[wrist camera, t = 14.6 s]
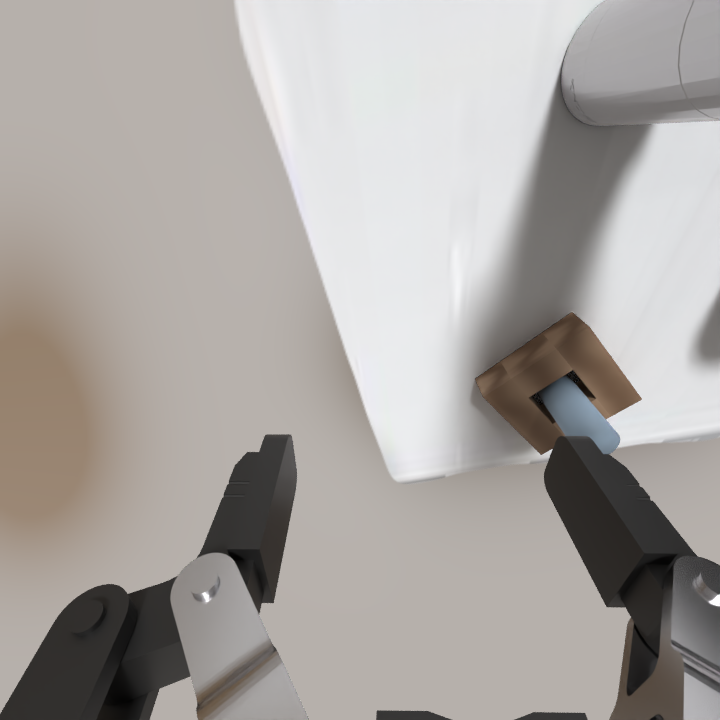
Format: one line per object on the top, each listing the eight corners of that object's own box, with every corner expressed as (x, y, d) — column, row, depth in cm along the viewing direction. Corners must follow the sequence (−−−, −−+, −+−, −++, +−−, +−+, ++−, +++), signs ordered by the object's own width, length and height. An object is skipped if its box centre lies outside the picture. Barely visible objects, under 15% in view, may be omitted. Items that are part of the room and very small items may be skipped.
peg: (555, 360, 47) (608, 422, 37) (572, 380, 49) (627, 445, 39) (525, 379, 49) (568, 444, 39) (542, 398, 50) (587, 465, 40)
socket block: (571, 312, 44) (589, 327, 40) (622, 381, 49) (642, 399, 45) (474, 378, 49) (483, 397, 45) (530, 434, 54) (541, 454, 51)
